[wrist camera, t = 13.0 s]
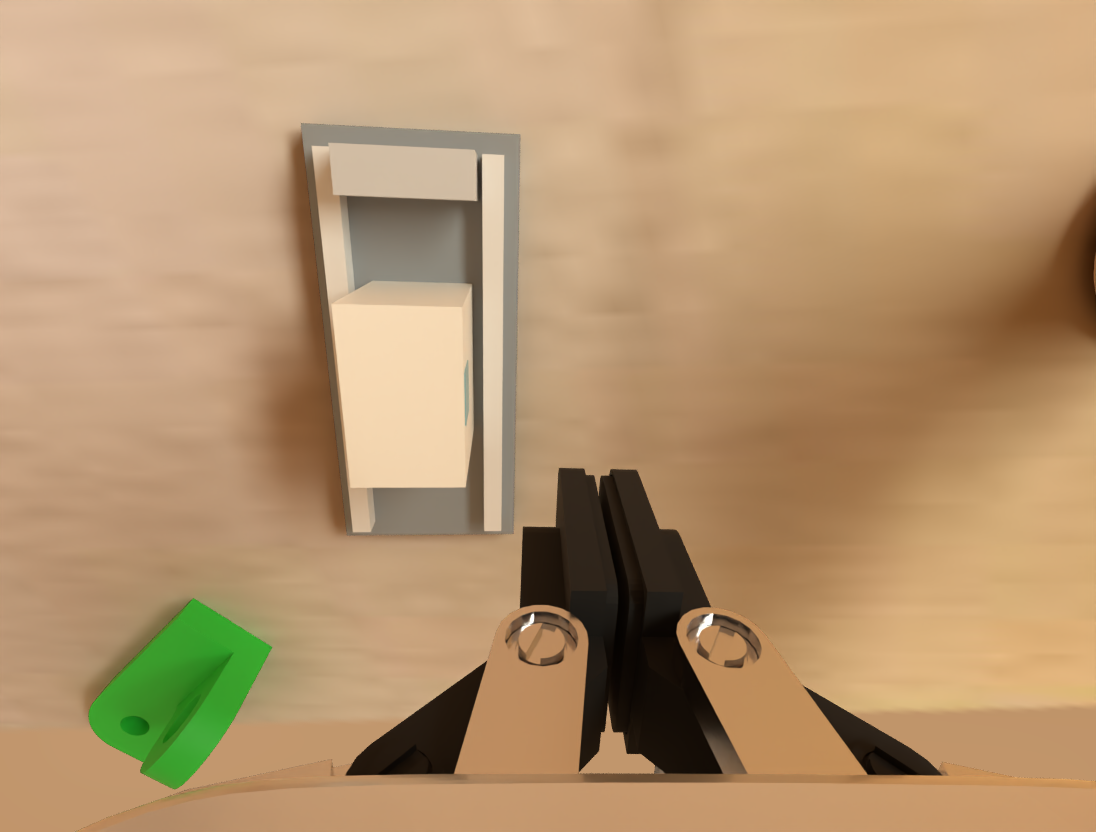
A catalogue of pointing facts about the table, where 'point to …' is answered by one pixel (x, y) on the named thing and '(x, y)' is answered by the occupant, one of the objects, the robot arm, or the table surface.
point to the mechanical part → (179, 693)
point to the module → (406, 383)
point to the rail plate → (426, 256)
